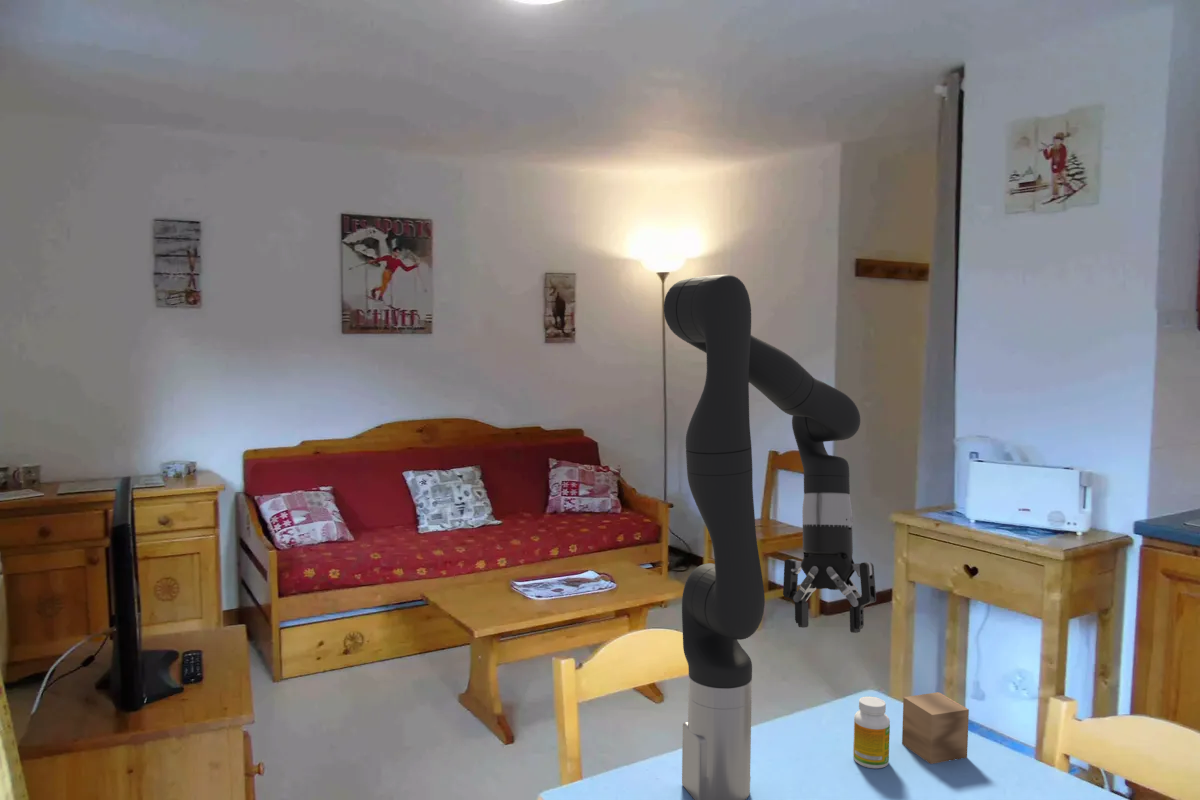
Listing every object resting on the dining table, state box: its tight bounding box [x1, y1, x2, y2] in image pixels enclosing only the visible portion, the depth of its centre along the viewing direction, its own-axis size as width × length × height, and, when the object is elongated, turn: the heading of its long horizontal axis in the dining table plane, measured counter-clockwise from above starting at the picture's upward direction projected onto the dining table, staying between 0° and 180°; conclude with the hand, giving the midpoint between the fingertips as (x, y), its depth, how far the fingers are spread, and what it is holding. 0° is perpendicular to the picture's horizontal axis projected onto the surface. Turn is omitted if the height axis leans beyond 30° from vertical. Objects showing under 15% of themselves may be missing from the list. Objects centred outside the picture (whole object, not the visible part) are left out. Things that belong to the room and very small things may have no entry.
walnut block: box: [901, 691, 970, 765], centre depth 137 cm, size 7×7×8 cm
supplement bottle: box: [852, 696, 891, 769], centre depth 133 cm, size 5×5×10 cm
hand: (828, 629), depth 129 cm, fingers open, 8 cm apart
